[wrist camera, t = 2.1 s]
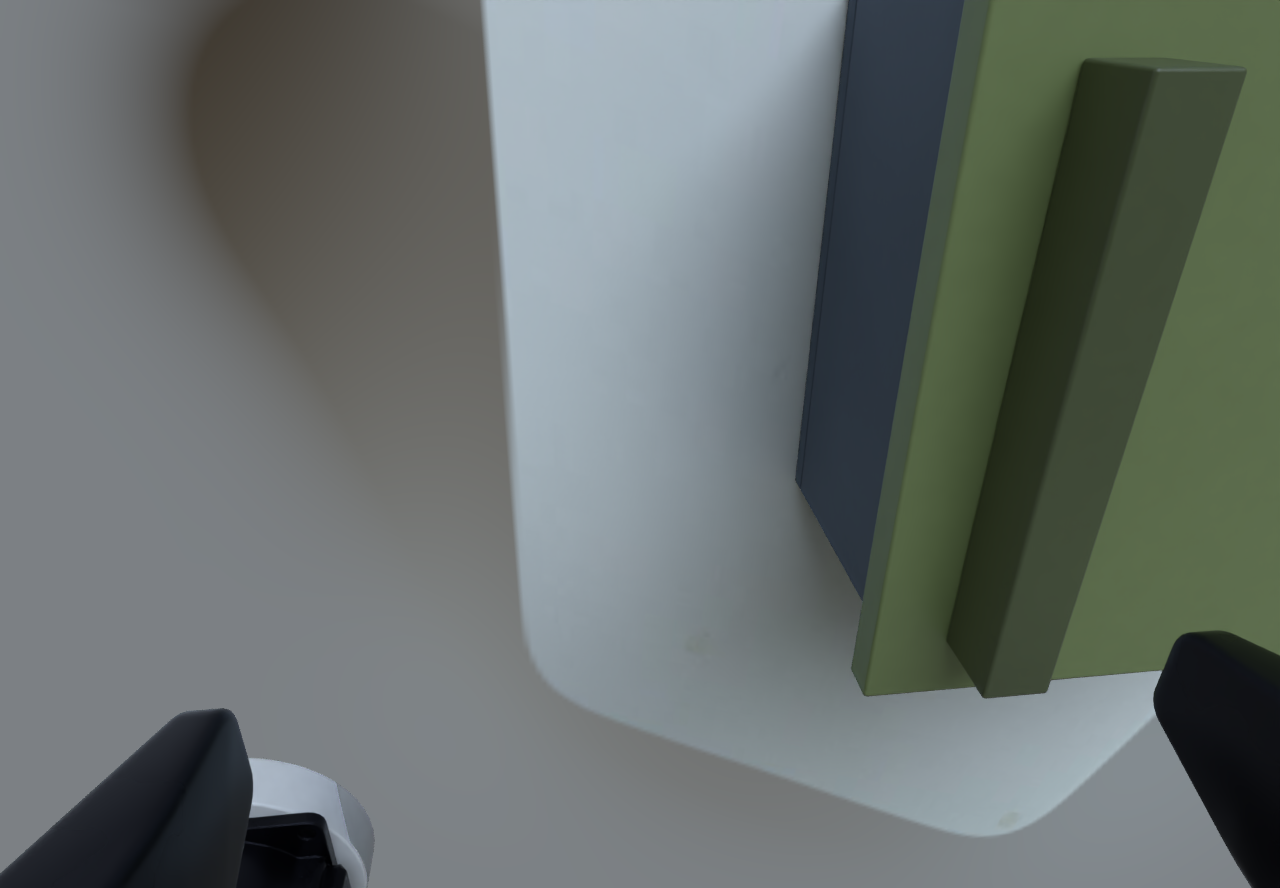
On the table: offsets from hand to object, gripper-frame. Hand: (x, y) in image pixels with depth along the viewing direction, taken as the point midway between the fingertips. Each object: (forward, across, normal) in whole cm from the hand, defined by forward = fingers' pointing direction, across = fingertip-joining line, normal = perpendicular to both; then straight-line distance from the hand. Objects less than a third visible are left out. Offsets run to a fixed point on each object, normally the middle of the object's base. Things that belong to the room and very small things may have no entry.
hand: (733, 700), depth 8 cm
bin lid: (+6, -12, 0) cm, 13 cm away
